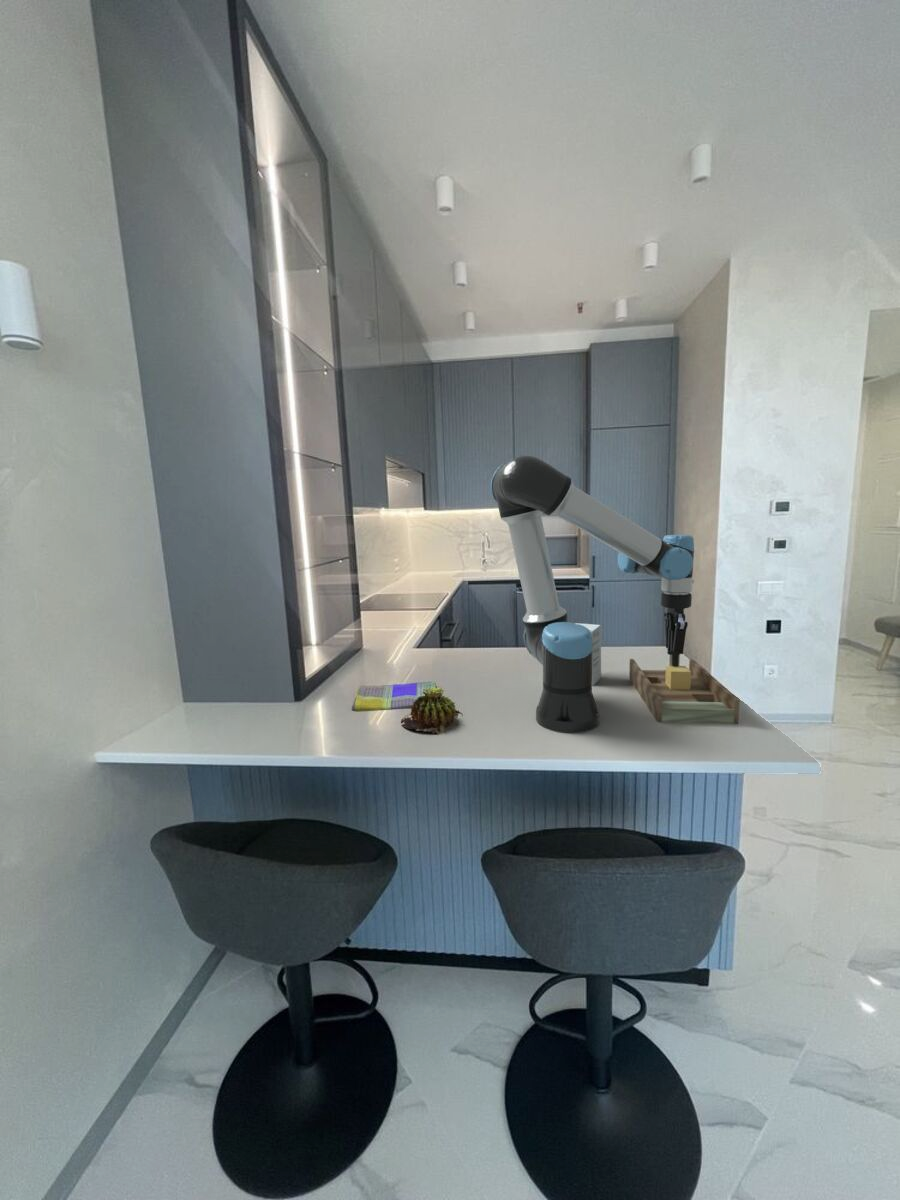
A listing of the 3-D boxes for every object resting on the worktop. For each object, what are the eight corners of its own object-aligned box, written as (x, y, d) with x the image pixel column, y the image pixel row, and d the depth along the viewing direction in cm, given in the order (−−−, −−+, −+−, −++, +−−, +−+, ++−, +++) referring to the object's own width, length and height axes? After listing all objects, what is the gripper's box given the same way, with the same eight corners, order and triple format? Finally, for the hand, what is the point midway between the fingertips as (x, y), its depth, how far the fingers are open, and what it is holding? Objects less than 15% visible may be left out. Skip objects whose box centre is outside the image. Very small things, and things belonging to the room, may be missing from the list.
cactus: (476, 714, 131) (475, 679, 129) (457, 741, 116) (455, 701, 114) (415, 708, 137) (414, 674, 135) (389, 733, 122) (387, 695, 120)
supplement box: (601, 677, 155) (602, 624, 152) (593, 687, 147) (593, 631, 144) (571, 673, 160) (571, 622, 157) (561, 682, 152) (561, 628, 149)
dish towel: (438, 710, 135) (438, 700, 135) (348, 714, 135) (347, 704, 135) (439, 688, 152) (439, 679, 152) (359, 691, 152) (358, 682, 152)
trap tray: (737, 726, 118) (739, 700, 116) (657, 724, 120) (658, 698, 119) (692, 680, 150) (693, 659, 149) (629, 679, 152) (629, 658, 151)
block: (690, 689, 134) (691, 671, 133) (670, 689, 135) (671, 671, 134) (684, 683, 139) (685, 665, 138) (665, 683, 139) (665, 665, 139)
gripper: (699, 596, 129) (695, 684, 133) (683, 588, 141) (679, 668, 145) (668, 596, 130) (665, 683, 134) (655, 588, 142) (652, 668, 146)
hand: (673, 675), depth 140 cm, fingers closed
